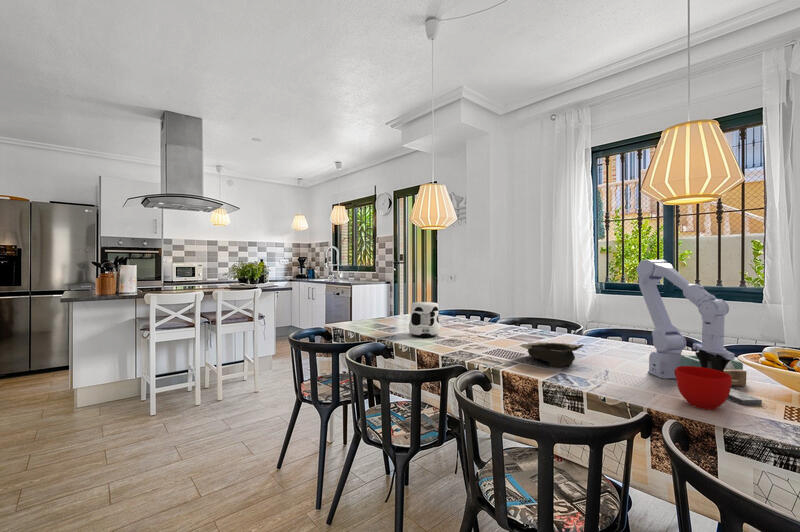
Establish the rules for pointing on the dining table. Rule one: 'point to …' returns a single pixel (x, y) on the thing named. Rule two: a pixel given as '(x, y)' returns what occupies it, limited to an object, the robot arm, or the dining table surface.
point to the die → (729, 366)
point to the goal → (694, 361)
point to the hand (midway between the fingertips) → (712, 375)
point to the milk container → (424, 319)
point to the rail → (743, 398)
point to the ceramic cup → (703, 386)
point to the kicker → (734, 375)
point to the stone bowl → (553, 353)
